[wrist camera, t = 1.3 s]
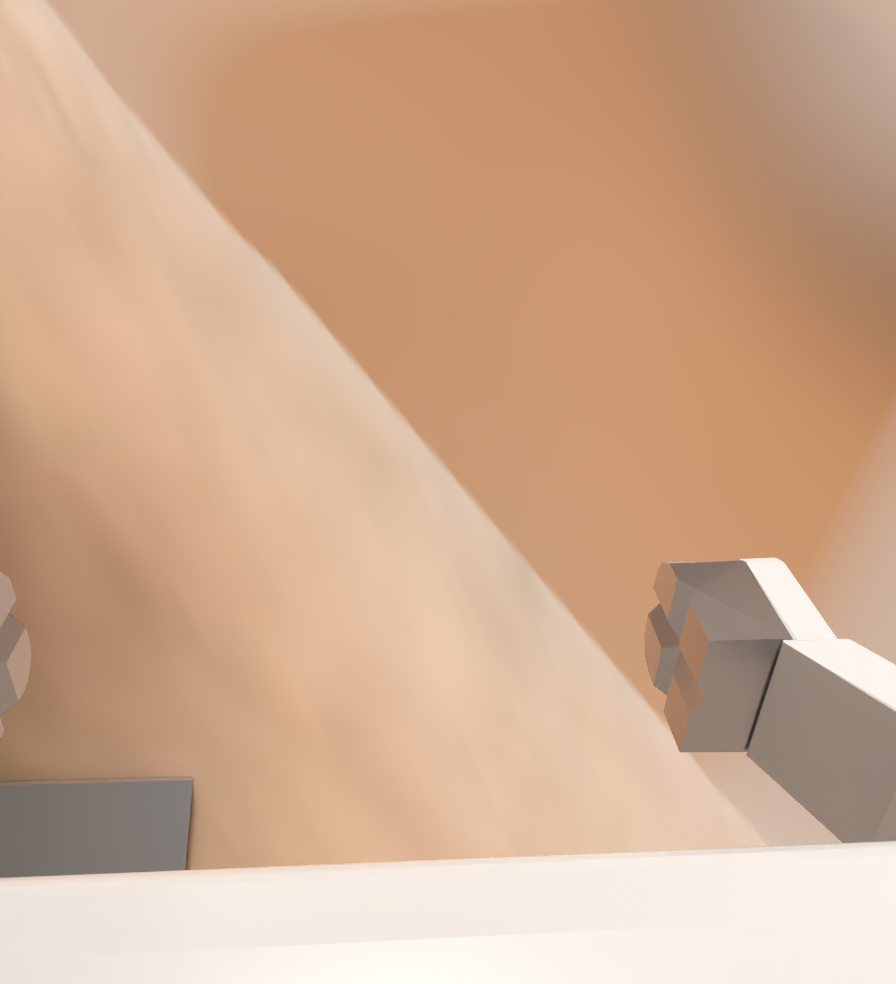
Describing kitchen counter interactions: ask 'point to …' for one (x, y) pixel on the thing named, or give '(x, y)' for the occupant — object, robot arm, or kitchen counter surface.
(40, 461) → the kitchen counter surface
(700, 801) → the kitchen counter surface
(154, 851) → the slate tile
